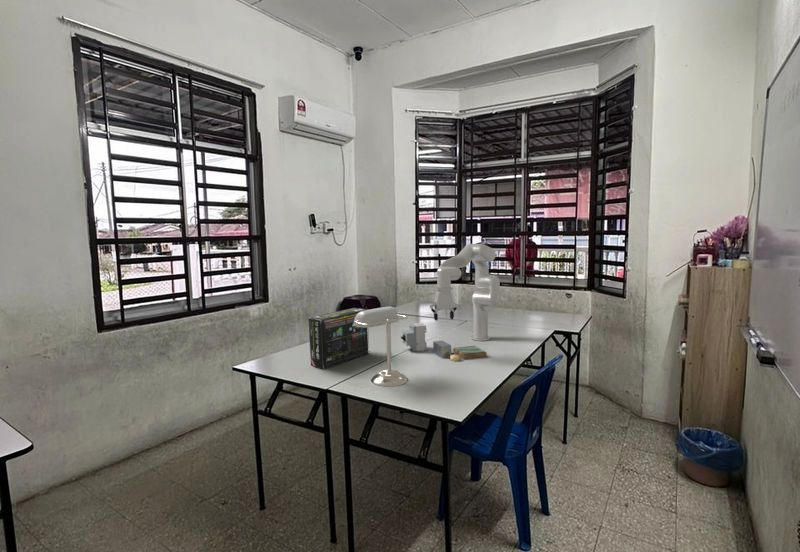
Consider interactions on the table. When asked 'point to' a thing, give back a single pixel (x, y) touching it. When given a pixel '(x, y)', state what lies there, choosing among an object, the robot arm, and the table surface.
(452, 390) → the table surface
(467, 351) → the green board with frame
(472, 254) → the robot arm
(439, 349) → the block
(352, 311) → the router box
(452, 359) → the cream dome
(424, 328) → the circuit breaker
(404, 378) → the lamp
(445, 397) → the table surface
